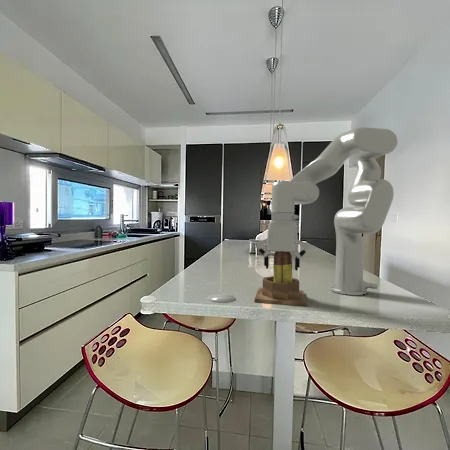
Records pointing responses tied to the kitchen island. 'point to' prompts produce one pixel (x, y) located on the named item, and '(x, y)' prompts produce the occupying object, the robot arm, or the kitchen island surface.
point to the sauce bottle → (282, 267)
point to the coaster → (221, 298)
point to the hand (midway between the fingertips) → (281, 268)
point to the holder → (280, 293)
